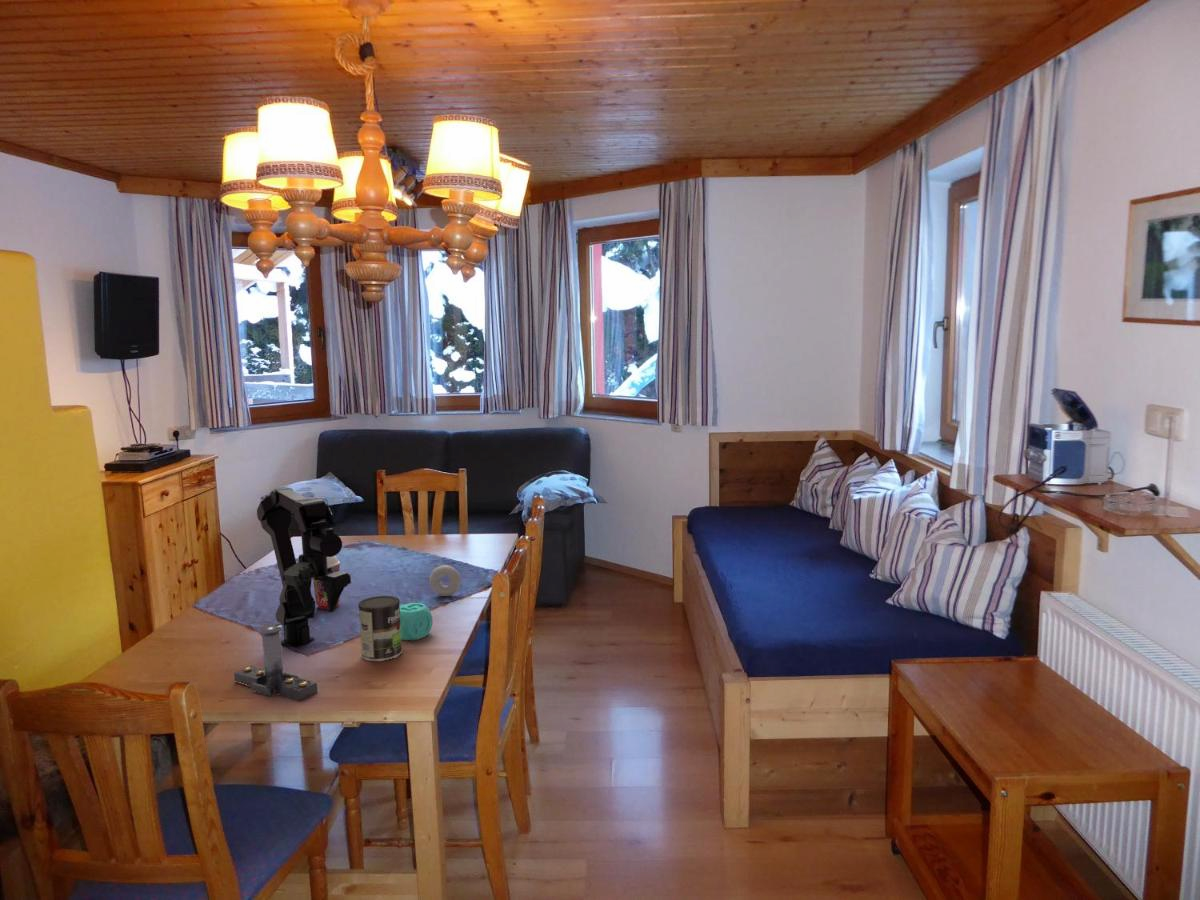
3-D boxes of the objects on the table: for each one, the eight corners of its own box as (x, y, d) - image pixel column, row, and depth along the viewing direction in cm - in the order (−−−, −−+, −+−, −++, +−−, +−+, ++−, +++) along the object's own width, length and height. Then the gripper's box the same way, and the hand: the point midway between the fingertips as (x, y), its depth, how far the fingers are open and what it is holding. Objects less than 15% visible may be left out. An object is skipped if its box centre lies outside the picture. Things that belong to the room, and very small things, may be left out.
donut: (463, 594, 266) (461, 564, 265) (459, 598, 263) (458, 567, 261) (432, 594, 267) (430, 563, 266) (428, 597, 264) (427, 566, 262)
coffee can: (409, 647, 222) (406, 596, 220) (391, 663, 212) (388, 609, 210) (372, 645, 224) (369, 594, 222) (354, 660, 214) (350, 607, 212)
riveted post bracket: (229, 684, 201) (228, 672, 201) (257, 672, 208) (256, 660, 208) (294, 703, 190) (293, 691, 190) (322, 690, 197) (321, 677, 197)
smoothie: (326, 612, 251) (322, 547, 248) (307, 608, 256) (303, 544, 253) (348, 604, 258) (344, 541, 255) (329, 600, 263) (325, 538, 260)
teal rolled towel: (392, 636, 231) (390, 608, 230) (416, 628, 237) (415, 600, 236) (409, 643, 226) (407, 614, 225) (433, 634, 232) (432, 606, 231)
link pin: (262, 686, 200) (257, 626, 197) (283, 681, 202) (278, 622, 200) (267, 693, 196) (262, 632, 194) (288, 688, 199) (283, 627, 196)
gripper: (262, 553, 210) (267, 613, 212) (315, 561, 201) (320, 624, 203) (298, 542, 220) (302, 600, 222) (350, 550, 210) (354, 610, 213)
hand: (318, 609), depth 215 cm, fingers open, 9 cm apart
